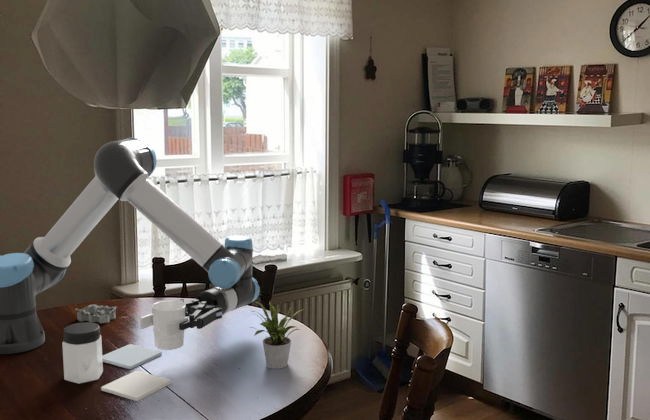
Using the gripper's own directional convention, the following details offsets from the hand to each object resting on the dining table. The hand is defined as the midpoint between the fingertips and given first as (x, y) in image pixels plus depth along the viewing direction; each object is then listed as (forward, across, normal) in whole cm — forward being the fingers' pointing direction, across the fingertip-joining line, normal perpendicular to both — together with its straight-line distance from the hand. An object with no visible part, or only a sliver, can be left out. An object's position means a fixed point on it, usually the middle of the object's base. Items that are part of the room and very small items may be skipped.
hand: (154, 326), depth 163 cm
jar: (+8, +15, -13) cm, 22 cm away
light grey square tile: (-6, +14, -13) cm, 20 cm away
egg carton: (-23, +44, -14) cm, 52 cm away
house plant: (-21, -19, -12) cm, 31 cm away
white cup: (-5, 0, -6) cm, 8 cm away
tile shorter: (+6, 0, -13) cm, 14 cm away
